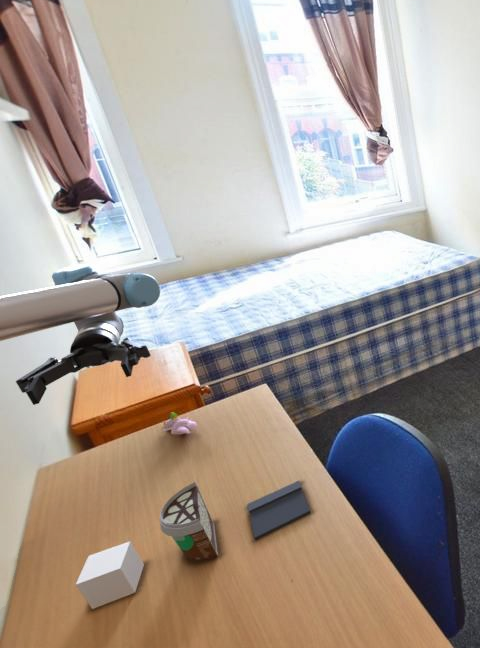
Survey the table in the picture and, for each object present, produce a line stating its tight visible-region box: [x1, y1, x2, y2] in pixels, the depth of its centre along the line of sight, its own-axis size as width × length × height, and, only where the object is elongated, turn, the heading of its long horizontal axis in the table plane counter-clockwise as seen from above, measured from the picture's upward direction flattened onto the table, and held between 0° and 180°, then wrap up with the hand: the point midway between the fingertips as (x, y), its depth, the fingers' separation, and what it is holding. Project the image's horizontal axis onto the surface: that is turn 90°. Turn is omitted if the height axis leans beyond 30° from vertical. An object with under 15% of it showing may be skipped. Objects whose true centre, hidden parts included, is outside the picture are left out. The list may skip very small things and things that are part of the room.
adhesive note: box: [75, 540, 145, 610], centre depth 80 cm, size 6×6×6 cm
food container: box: [159, 481, 219, 563], centre depth 85 cm, size 12×6×10 cm, turn 35°
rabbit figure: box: [162, 411, 198, 435], centre depth 120 cm, size 6×6×15 cm
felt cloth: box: [247, 480, 311, 541], centre depth 93 cm, size 10×10×1 cm
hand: (80, 383), depth 86 cm, fingers open, 13 cm apart
